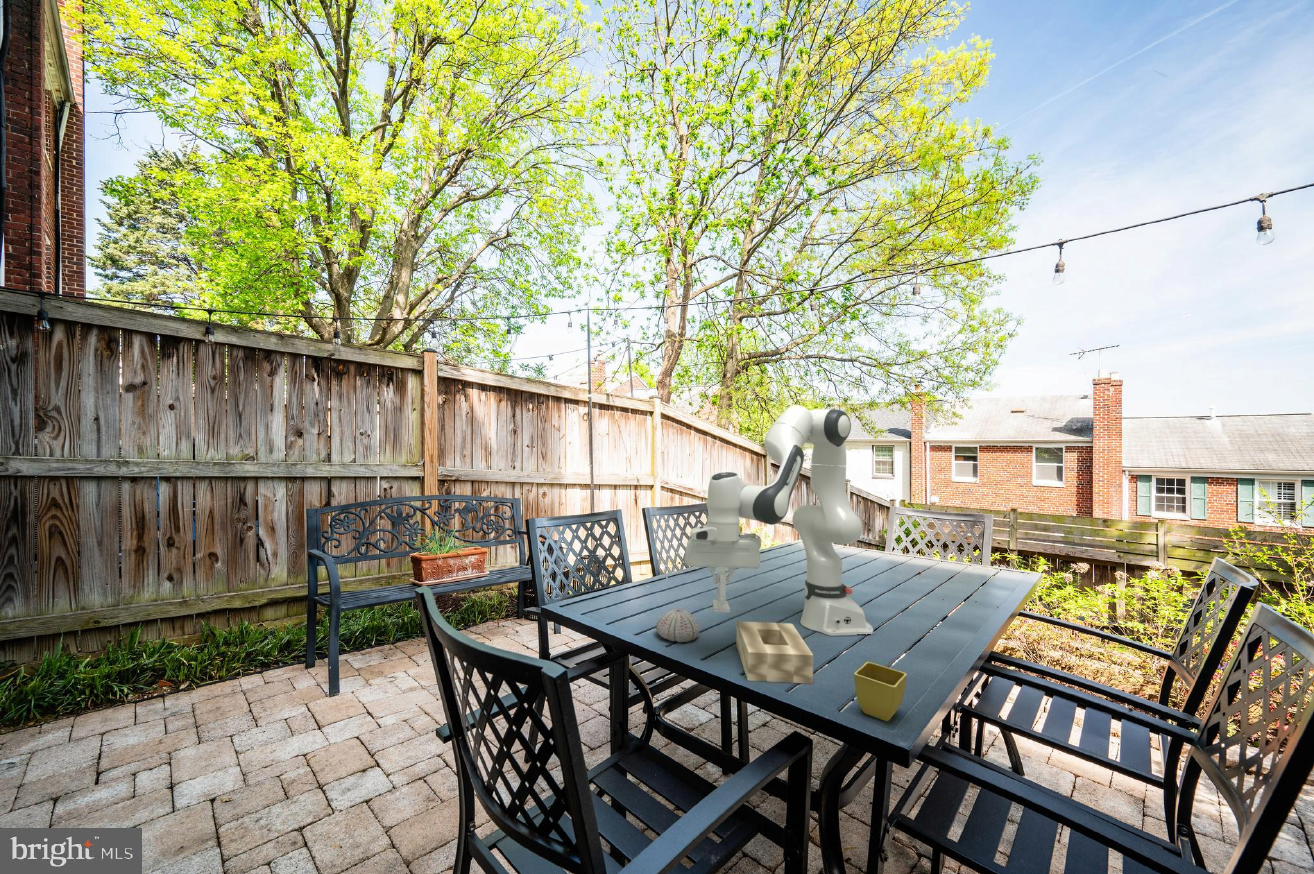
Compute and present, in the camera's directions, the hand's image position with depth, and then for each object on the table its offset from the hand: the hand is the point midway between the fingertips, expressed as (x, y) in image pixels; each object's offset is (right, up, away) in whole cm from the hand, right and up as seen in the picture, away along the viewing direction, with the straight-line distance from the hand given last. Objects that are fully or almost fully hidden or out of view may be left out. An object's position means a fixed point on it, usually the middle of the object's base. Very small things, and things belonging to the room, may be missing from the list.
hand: (721, 583), depth 137 cm
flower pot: (+32, -22, -25) cm, 46 cm away
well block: (+13, -21, -1) cm, 25 cm away
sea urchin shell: (-11, -21, +16) cm, 29 cm away
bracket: (0, -7, 0) cm, 7 cm away
